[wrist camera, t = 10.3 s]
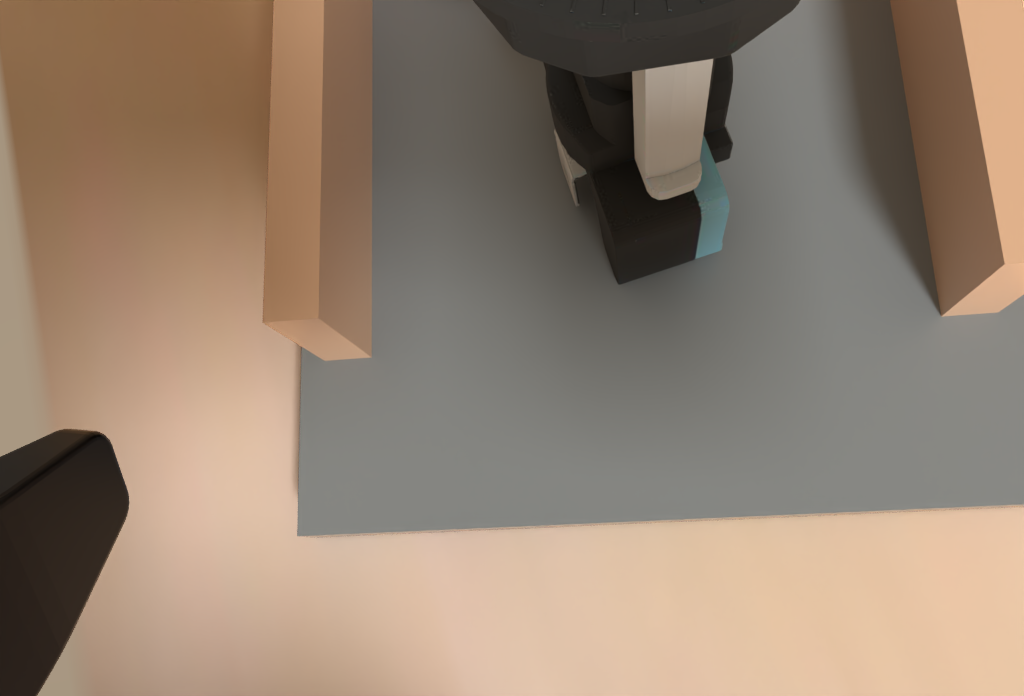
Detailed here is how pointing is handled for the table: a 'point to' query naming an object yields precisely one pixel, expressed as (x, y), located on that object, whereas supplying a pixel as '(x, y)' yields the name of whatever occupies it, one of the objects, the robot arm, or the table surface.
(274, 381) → the table surface
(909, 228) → the end holder
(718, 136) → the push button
